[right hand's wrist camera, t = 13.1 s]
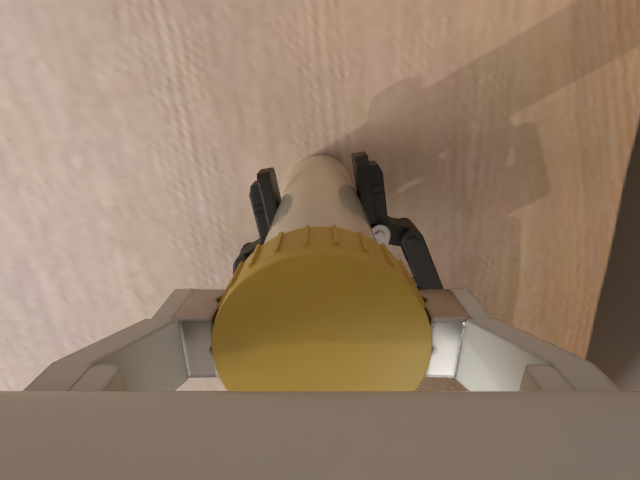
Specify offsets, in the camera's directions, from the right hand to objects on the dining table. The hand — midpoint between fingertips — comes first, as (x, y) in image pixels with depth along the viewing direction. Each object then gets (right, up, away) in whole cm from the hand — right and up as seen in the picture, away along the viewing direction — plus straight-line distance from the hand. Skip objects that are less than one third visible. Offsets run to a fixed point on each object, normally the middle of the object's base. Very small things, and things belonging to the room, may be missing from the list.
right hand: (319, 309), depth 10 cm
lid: (0, -1, -2) cm, 2 cm away
